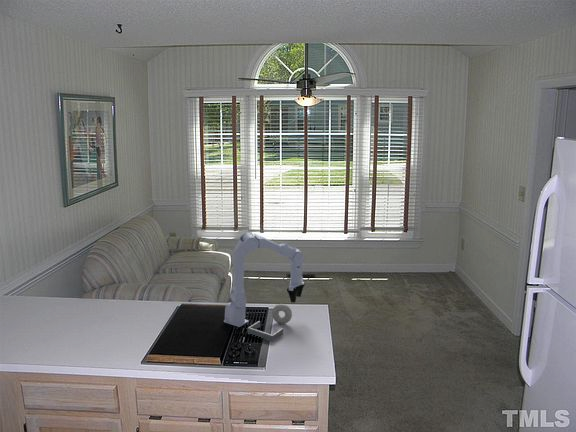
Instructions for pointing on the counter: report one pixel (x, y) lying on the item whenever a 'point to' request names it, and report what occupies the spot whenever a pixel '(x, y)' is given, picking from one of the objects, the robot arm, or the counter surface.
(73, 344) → the counter surface
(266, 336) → the bracket
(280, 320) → the donut
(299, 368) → the counter surface
